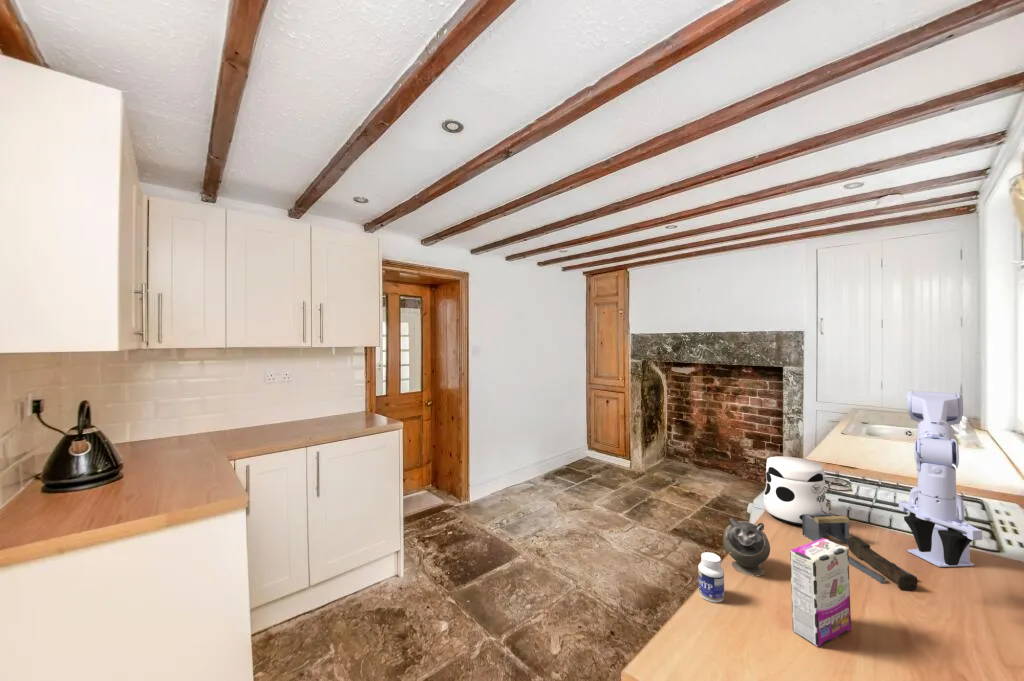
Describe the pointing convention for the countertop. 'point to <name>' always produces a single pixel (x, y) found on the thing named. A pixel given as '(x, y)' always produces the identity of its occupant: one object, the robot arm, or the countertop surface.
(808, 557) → the candy bar box
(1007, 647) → the countertop surface
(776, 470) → the white spotted cookie jar
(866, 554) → the dark brown log
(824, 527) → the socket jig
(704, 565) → the pill bottle
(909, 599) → the countertop surface
